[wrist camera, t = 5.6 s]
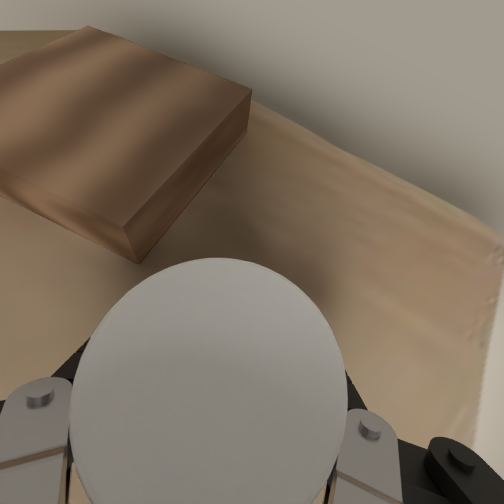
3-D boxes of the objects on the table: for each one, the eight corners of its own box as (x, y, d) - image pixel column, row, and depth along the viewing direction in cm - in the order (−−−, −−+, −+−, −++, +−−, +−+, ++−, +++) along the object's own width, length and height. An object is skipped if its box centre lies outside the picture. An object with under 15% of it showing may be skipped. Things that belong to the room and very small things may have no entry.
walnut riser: (-56, 167, 20) (-111, 114, 16) (102, 73, 28) (88, 25, 25) (139, 264, 18) (122, 226, 14) (246, 132, 26) (252, 89, 23)
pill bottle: (261, 340, 16) (334, 221, 7) (281, 470, 13) (466, 583, 4) (151, 352, 15) (59, 230, 6) (145, 498, 12) (-76, 759, 3)
